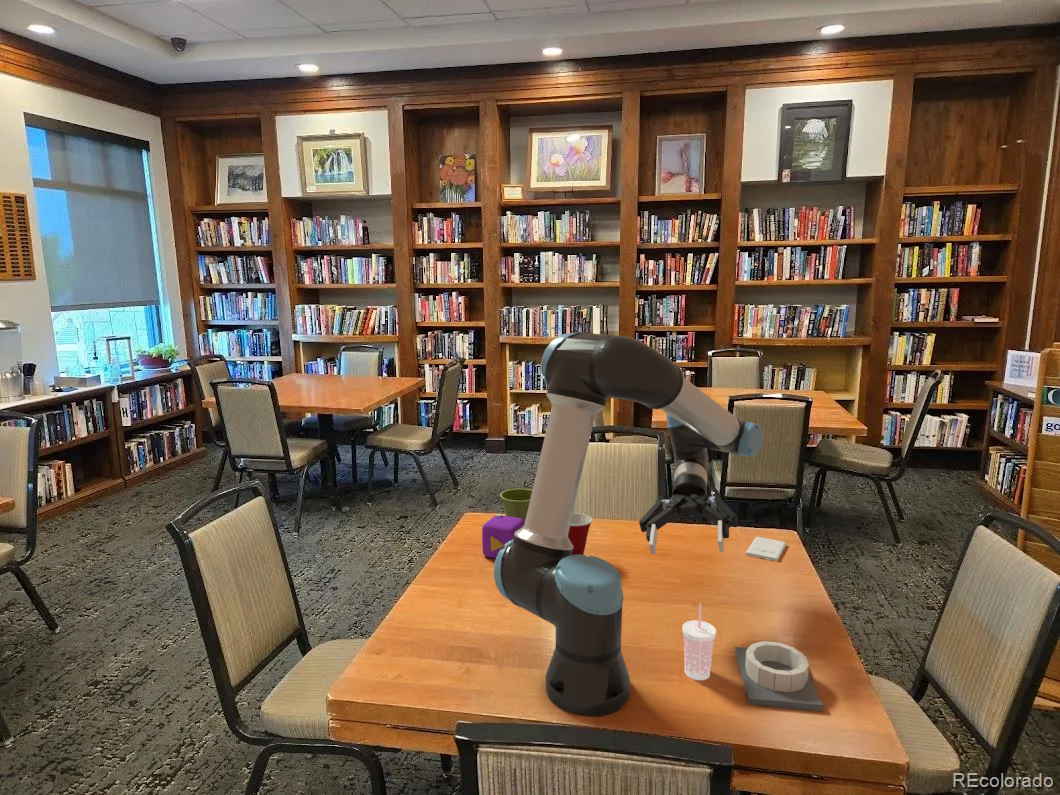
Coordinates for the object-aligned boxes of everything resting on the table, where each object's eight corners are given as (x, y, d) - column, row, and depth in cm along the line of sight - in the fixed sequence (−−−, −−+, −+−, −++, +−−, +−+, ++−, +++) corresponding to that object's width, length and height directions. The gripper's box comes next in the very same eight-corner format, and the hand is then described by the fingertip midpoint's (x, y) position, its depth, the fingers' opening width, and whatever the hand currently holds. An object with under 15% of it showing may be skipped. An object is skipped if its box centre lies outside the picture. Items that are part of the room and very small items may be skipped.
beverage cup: (712, 664, 121) (715, 597, 119) (715, 684, 115) (719, 613, 113) (679, 661, 122) (682, 594, 120) (681, 681, 116) (684, 610, 114)
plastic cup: (599, 557, 170) (599, 514, 168) (580, 572, 161) (580, 527, 159) (564, 548, 175) (564, 506, 173) (543, 562, 166) (543, 519, 164)
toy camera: (530, 565, 165) (530, 528, 163) (479, 560, 168) (479, 525, 166) (538, 548, 176) (537, 514, 174) (490, 544, 178) (489, 510, 176)
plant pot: (545, 536, 184) (544, 499, 182) (505, 540, 181) (504, 502, 179) (534, 521, 195) (534, 486, 193) (497, 525, 192) (496, 489, 190)
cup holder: (749, 704, 110) (750, 680, 109) (734, 652, 125) (736, 631, 125) (822, 711, 108) (824, 687, 107) (798, 657, 124) (800, 636, 123)
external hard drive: (786, 547, 177) (777, 564, 166) (755, 541, 181) (745, 557, 170) (786, 542, 176) (777, 558, 166) (756, 536, 181) (745, 551, 170)
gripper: (749, 495, 142) (753, 560, 124) (639, 503, 151) (628, 564, 133) (744, 468, 139) (748, 530, 121) (633, 477, 148) (621, 536, 130)
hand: (685, 548), depth 127 cm, fingers open, 13 cm apart
